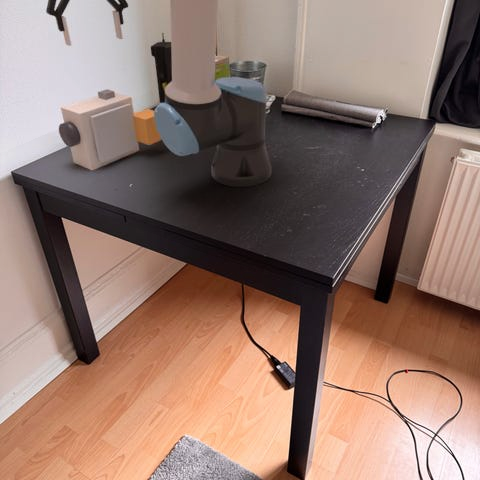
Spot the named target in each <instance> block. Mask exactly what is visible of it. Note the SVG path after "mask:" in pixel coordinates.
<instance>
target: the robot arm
mask: <svg viewBox="0 0 480 480" xmlns="http://www.w3.org/2000/svg"><path fill="white" fill-rule="evenodd" d="M70 1H71V0H60V1H59V3H58V5H57V6H56V4H57V0H47V5H46V10H45V12H46V14H48V15H50V16H53V17H54V18H55V22H56V24H57V29H58V31H59V32H63V37H64V42H65V45H66V46H68V47H69V46H70V47H71V46H72V42H71V41H72V40H71V37H70V33H69V27H68V23H67V18H66V16H64V15H63V14H64V12H65V10H66V9H67V7H68V5H69V3H70ZM117 1H118V2H117ZM117 1H116V0H106V2H107V3H109V5H110V6H111V7H112V8H113V9H114V10H112V11H111V13H112V18H113V25H114V29H115V30H114V31H115V36H116V38H117V39H119V40H123V39H124V38H123V31H122V27H121V26H122V25H124V24H125V23H124V18H123V17H124V15H123V11H124V10H125V9H127V8H129V4H128V2H127V0H117ZM218 1H219V0H170V37H171V38H170V39H171V41H170V42H171V49H172V81H171V82H170V83H169V84H168V85H167V86H166V88H165V103H160V102H159V104H158V105H156V108H155V109H154V110H153V111H154V120H155V124H156V128H157V131H158V133H159V135H160V137H161V139H162V140H161V141H162V142H163V144H164V145H165V146H166V147H167V149H168V150H170V152H171V153H172V154H175V155H176V156H179V157H184V156H185V157H186V156H189V155H191V154H194V155H195V154H198V153H199V152H201V151H204V150H208V149H210V148H214V147H216V149H215V152H214V155H213V160H212V162H211V176H212V178H213V180H214V181H216V182H218V183H219V184H222V185H224V186H228V187H233V188H234V187H235V188H236V187H237V188H247V187H249V188H250V187H254V186H257V185H258V186H259V185H261V184H264V183H265V182H267V181H269V179H270V178H271V175H272V163H271V160H270V157H269V154H268V150H267V147H266V121H267V120H266V117H267V116H266V115H267V99H266V98H267V96H266V91H267V90H266V88H265V86H264V84H263V83H262V82H259V81H258V80H254V79H251V78H244V77H235V76H234V77H233V76H232V77H230V76H229V77H226V78H219V79H217V80H216V81H215V56H216V55H217V51H216V50H217V31H218V30H217V28H218V27H217V26H218V4H219V3H218ZM214 81H215V83H214Z"/></svg>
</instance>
